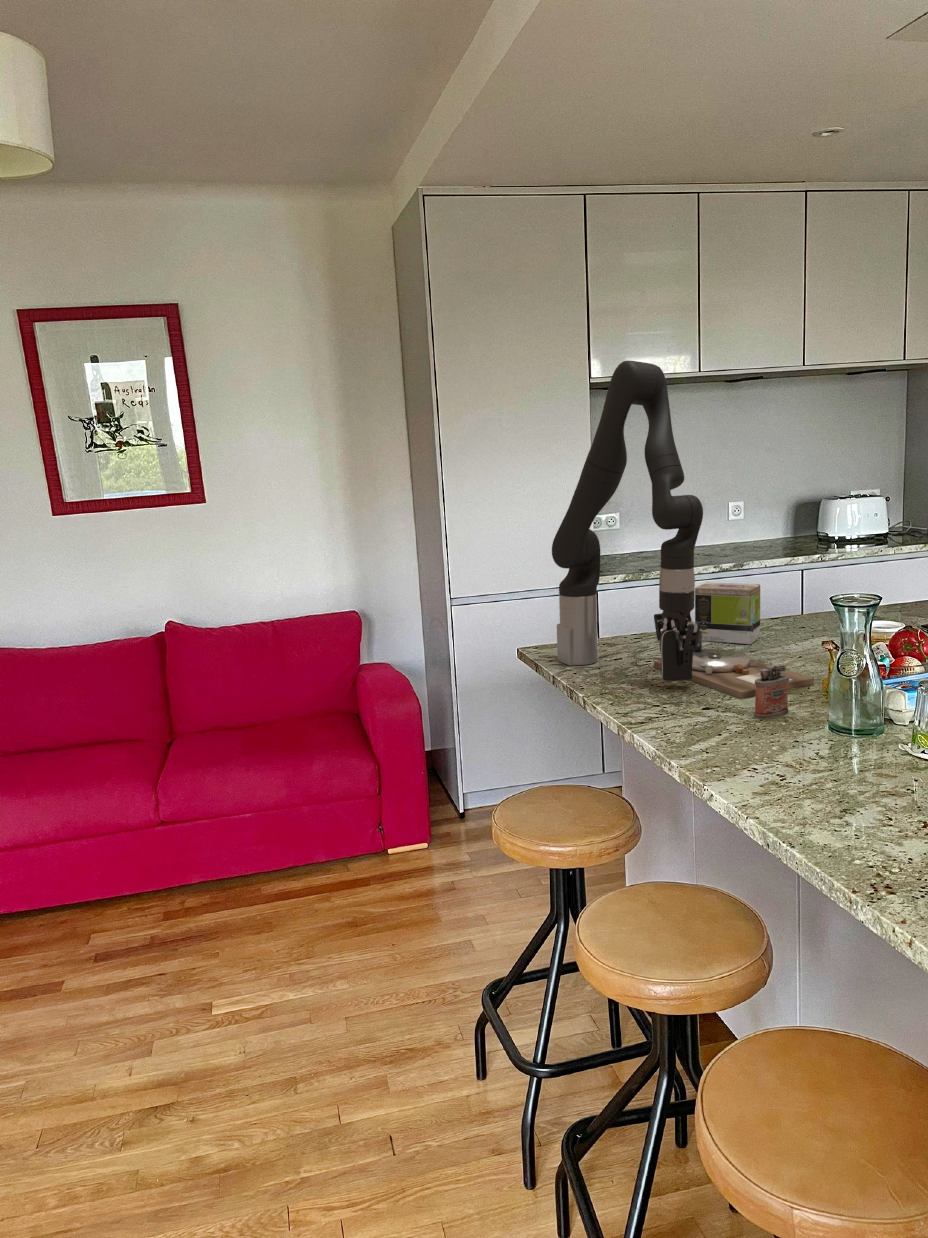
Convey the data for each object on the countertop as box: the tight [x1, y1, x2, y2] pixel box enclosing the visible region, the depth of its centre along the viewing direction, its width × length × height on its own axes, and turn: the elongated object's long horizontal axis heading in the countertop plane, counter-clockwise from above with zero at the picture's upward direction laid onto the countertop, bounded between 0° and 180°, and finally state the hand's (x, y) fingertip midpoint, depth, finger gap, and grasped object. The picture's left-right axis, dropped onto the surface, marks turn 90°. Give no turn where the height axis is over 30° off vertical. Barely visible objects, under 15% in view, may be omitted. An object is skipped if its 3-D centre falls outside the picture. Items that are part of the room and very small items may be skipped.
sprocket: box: [692, 630, 759, 674], centre depth 213 cm, size 19×19×6 cm
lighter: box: [753, 663, 789, 720], centre depth 179 cm, size 8×3×10 cm, turn 118°
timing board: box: [653, 659, 815, 700], centre depth 209 cm, size 20×31×2 cm, turn 24°
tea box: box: [694, 581, 761, 645], centre depth 242 cm, size 15×10×15 cm, turn 58°
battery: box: [659, 629, 693, 682], centre depth 200 cm, size 7×4×11 cm, turn 93°
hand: (676, 663), depth 200 cm, fingers closed on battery, 4 cm apart
